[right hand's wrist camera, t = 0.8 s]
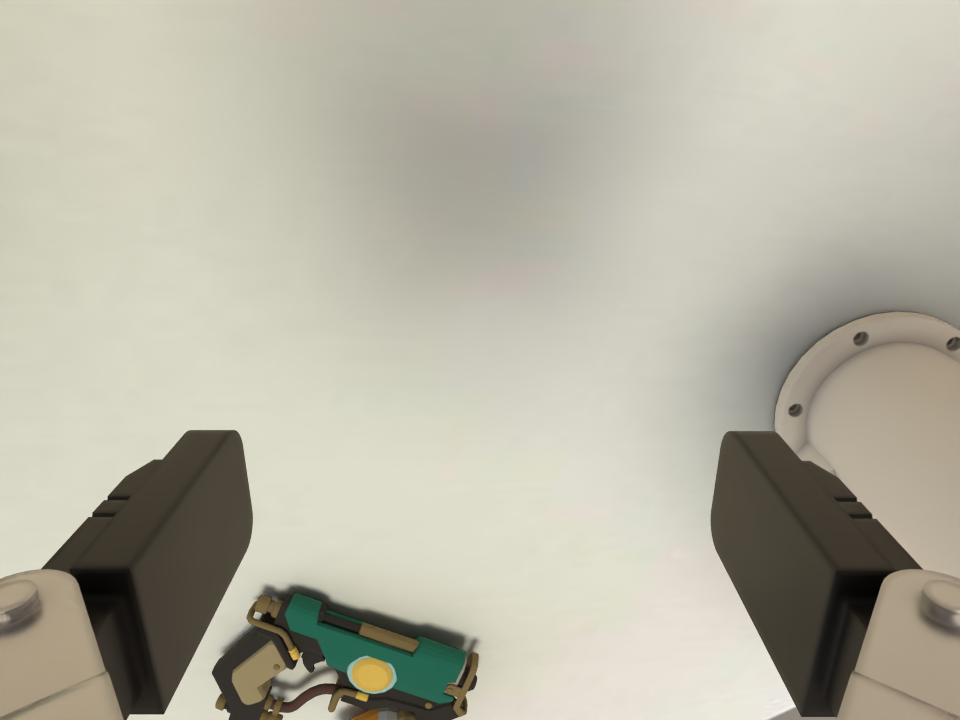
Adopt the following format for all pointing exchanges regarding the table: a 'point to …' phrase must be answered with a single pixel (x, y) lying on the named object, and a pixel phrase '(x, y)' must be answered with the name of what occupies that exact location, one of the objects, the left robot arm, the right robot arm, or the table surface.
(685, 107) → the table surface
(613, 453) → the table surface
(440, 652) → the green toy blaster
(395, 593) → the table surface
